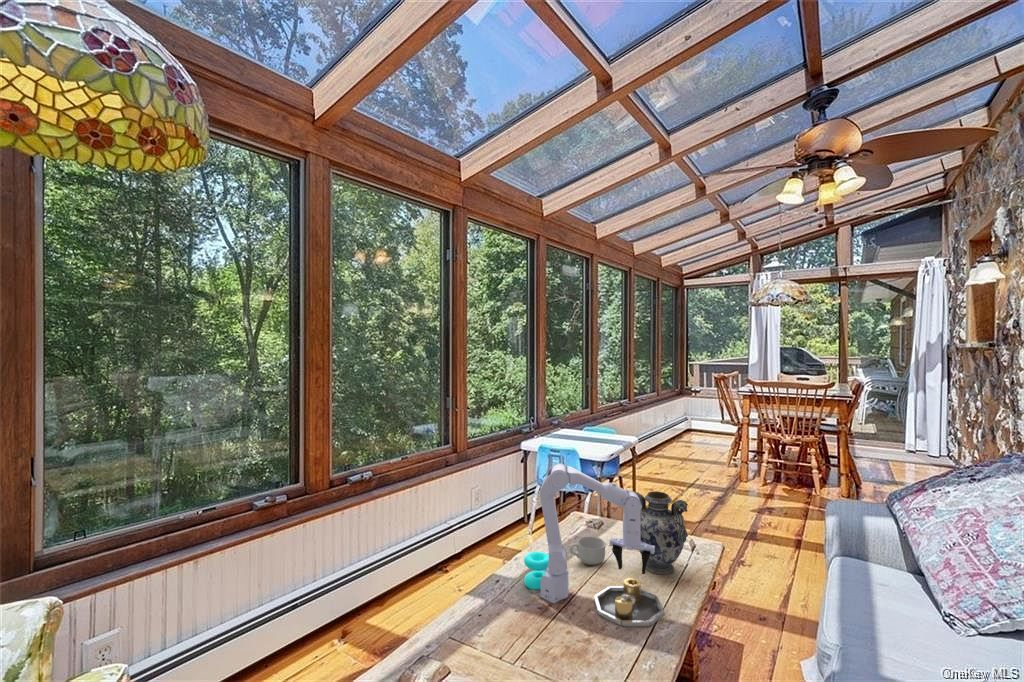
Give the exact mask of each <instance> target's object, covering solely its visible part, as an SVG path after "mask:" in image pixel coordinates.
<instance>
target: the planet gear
mask: <svg viewBox="0 0 1024 682" xmlns="http://www.w3.org/2000/svg"><path fill="white" fill-rule="evenodd" d="M632 584H634V585H632ZM623 586H624V594H631V595H633V596H634V597H635V602H636V601H640V598H641V589H642V582H641V581H640V580H638V579H637V578H632V577H628V578H624V580H623Z"/></svg>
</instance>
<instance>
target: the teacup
mask: <svg viewBox="0 0 1024 682" xmlns="http://www.w3.org/2000/svg"><path fill="white" fill-rule="evenodd" d="M574 547H576V549H577V552H576V551H574V550H573V548H574ZM569 551H570V553H571V554H572V555H574V556H575V557H577V558H578V559H580V561H581V562H582V563H584V565H587V566H593V567H594V566H598V565H600V564H602V562H603V561H604V560H605V557H606V541H605V540H604V539H602V538H600V537H597V536H593V535H586V536H582V537H580V538H578V540H577V542H573V543H571V544H570V545H569Z"/></svg>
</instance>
